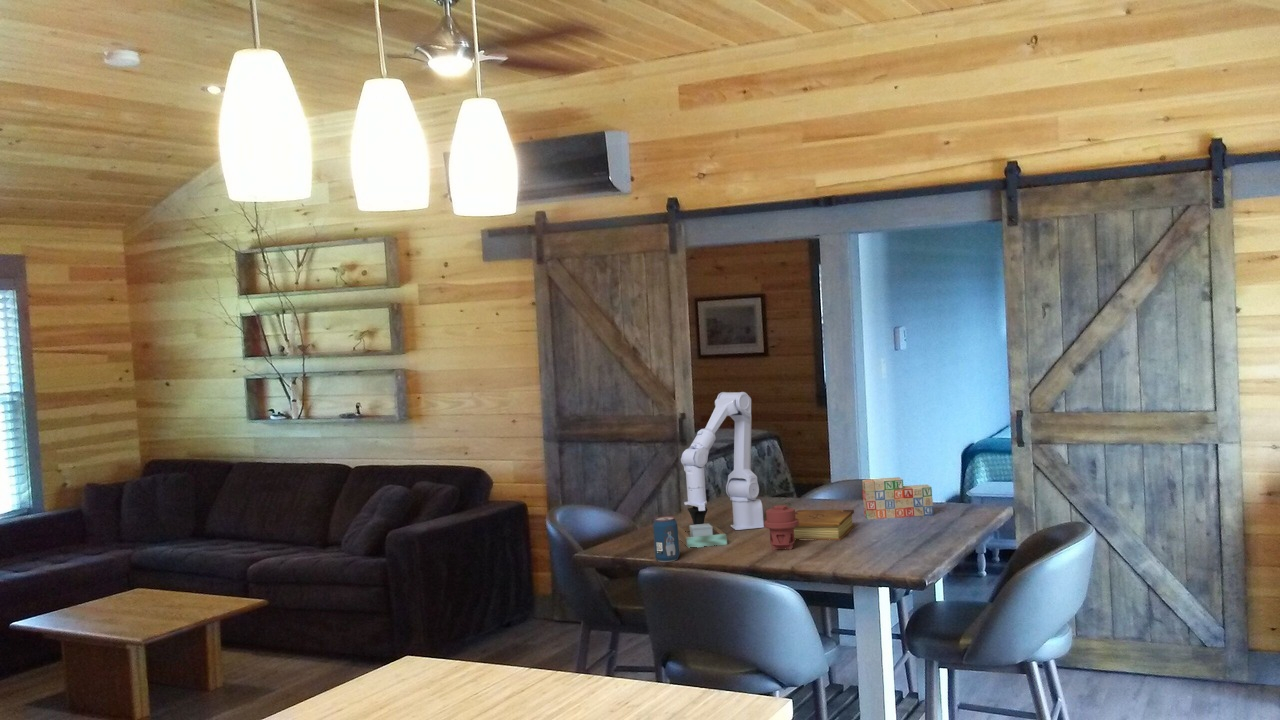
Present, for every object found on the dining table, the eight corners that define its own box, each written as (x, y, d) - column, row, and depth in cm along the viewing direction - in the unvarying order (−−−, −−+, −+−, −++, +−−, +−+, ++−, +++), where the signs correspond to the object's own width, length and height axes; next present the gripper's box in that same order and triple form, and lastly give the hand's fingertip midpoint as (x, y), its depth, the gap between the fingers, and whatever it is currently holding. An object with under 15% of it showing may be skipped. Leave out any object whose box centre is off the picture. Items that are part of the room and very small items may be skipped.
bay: (707, 528, 367) (707, 519, 367) (727, 544, 339) (726, 534, 339) (671, 532, 365) (670, 523, 365) (687, 548, 337) (687, 538, 337)
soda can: (665, 556, 327) (662, 515, 327) (684, 558, 323) (681, 516, 323) (650, 561, 322) (647, 519, 322) (669, 563, 318) (666, 520, 317)
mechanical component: (805, 549, 324) (773, 553, 321) (792, 543, 334) (760, 547, 331) (803, 506, 324) (770, 510, 321) (789, 502, 333) (757, 505, 331)
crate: (710, 539, 349) (708, 523, 349) (713, 542, 343) (712, 526, 343) (690, 541, 348) (689, 525, 348) (693, 544, 342) (692, 528, 342)
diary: (796, 527, 362) (795, 510, 362) (855, 528, 355) (853, 509, 355) (778, 541, 340) (777, 522, 340) (840, 542, 334) (839, 522, 333)
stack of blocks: (929, 512, 370) (927, 475, 370) (933, 515, 364) (931, 477, 364) (863, 516, 371) (861, 479, 371) (867, 519, 365) (864, 481, 364)
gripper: (679, 485, 356) (682, 528, 356) (687, 491, 342) (690, 535, 342) (701, 483, 357) (703, 526, 357) (710, 489, 343) (713, 533, 343)
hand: (699, 530), depth 350 cm, fingers closed
